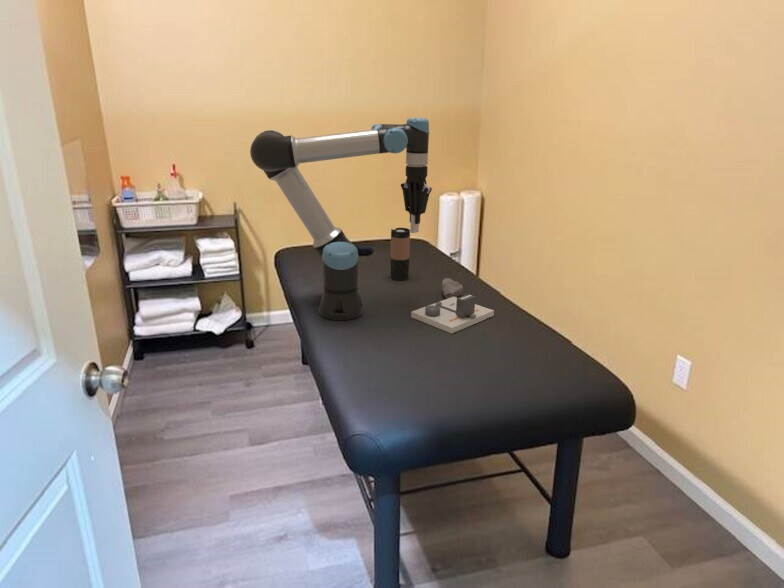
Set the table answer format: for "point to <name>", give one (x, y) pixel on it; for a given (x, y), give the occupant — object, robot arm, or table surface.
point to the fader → (465, 305)
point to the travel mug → (400, 253)
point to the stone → (451, 288)
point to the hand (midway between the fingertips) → (414, 232)
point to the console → (450, 315)
